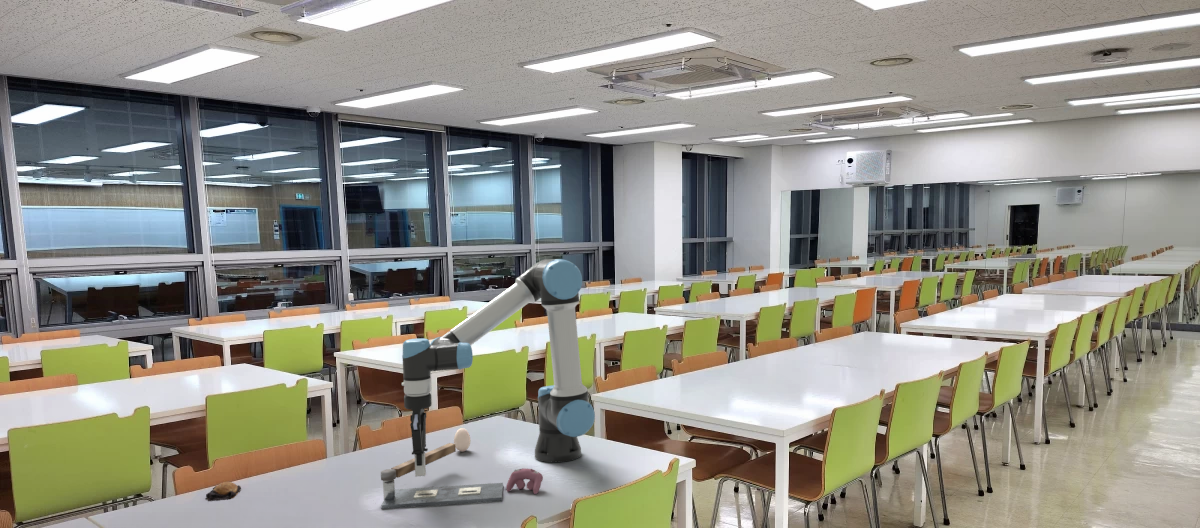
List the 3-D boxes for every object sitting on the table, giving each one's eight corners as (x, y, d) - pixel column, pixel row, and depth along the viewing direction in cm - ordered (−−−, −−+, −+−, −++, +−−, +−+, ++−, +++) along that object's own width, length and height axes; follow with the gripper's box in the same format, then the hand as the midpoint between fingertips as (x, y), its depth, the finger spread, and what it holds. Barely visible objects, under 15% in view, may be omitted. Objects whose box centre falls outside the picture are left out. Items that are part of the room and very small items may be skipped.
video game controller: (542, 496, 206) (545, 470, 208) (536, 494, 202) (539, 468, 204) (510, 493, 209) (514, 468, 211) (503, 491, 205) (508, 465, 207)
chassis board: (503, 486, 210) (502, 467, 210) (501, 501, 198) (501, 481, 198) (388, 493, 207) (387, 474, 207) (379, 509, 195) (378, 488, 195)
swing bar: (389, 483, 198) (388, 474, 198) (377, 481, 200) (377, 472, 200) (457, 451, 226) (457, 444, 225) (447, 450, 227) (447, 442, 227)
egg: (462, 448, 250) (462, 425, 249) (474, 450, 246) (473, 427, 246) (450, 452, 245) (450, 429, 245) (462, 454, 242) (461, 431, 242)
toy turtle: (212, 491, 215) (212, 479, 214) (243, 488, 217) (243, 476, 217) (202, 504, 204) (201, 491, 204) (235, 500, 206) (234, 487, 206)
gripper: (408, 389, 213) (411, 468, 214) (399, 399, 200) (403, 483, 201) (434, 388, 214) (437, 467, 214) (427, 397, 201) (430, 482, 201)
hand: (420, 475), depth 208 cm, fingers closed
